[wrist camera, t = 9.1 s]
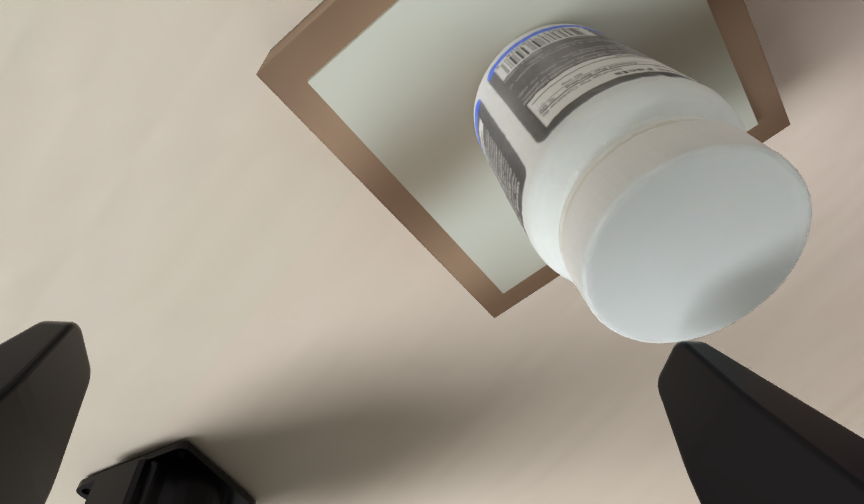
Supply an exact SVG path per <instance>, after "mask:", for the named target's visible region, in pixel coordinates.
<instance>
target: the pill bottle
mask: <svg viewBox="0 0 864 504" xmlns="http://www.w3.org/2000/svg"><path fill="white" fill-rule="evenodd" d="M474 125H475V131H476V135H477V138H478V141H479V144H480V146H481V149H482V151H483V153H484V155H485V157H486V159H487V161H488V163H489V164H490V166H491V168H492V170H493V172H494V174H495V176H496V177H497V179H498V181H499V183H500V186H501V187H502V189H503V191H504V193H505V195H506V197H507V199H508V201H509V203H510V205H511V206H512V208H513V210H514V212H515V214H516V216H517V218H518V220H519V222H520V224H521V226H522V227H523V229H524V231H525V233H526V235H527V237H528V239H529V241H530V242H531V244H532V246H533V247H534V249H535V250H536V252H537V253H538V254H539V256H540V257H541V258H542V260H543V261H544V262H545V263H546V264H547V265H548V266H549V267H550V268H551V269H553V270H554V271H555V272H557V273H558V274H560V275H561V276H563V277H564V278H566V279H568V280H570V281H572V282H574V284H575V285H576V287H577V289H578V290H579V292H580V294H581V295H582V297H583V298H584V300H585V302H586V304H587V305H588V307H589V308H590V310H591V311H592V312H593V314H594V315H595V316H596V317H597V318H598V319H599V321H600V322H602V323H603V324H604V325H605V326H607V327H608V328H609V329H611V330H612V331H614V332H616V333H618V334H620V335H622V336H624V337H627V338H630V339H633V340H637V341H642V342H649V343H673V342H680V341H686V340H691V339H695V338H698V337H702V336H705V335H708V334H711V333H714V332H716V331H718V330H720V329H723V328H725V327H727V326H729V325H731V324H733V323H734V322H736V321H737V320H739V319H740V318H742V317H743V316H745V315H746V314H748V313H749V312H751V311H752V310H754V309H755V308H756V307H758V306H759V305H760V304H761V303H762V302H764V301H765V300H766V299H767V298H768V297H769V296H770V295H772V294H773V293H774V292H775V291H776V289H777V288H778V287H779V286H780V285H781V284H782V283H783V282H784V280H785V279H786V278H787V276H788V275H789V273H790V272H791V270H792V269H793V267H794V266H795V264H796V262H797V261H798V259H799V257H800V255H801V253H802V251H803V248H804V245H805V243H806V240H807V237H808V233H809V229H810V224H811V216H812V208H811V198H810V194H809V191H808V188H807V186H806V183H805V181H804V180H803V178H802V176H801V175H800V173H799V172H798V170H797V169H796V168H795V167H794V166H793V165H792V164H791V163H790V162H789V161H788V160H787V159H786V158H784V157H783V156H782V155H780V154H779V153H777V152H776V151H774V150H772V149H771V148H769V147H768V146H766V145H765V144H763V143H761V142H760V141H758V140H757V139H755V138H754V137H752V136H751V135H750V134H748V133H747V131H746V129H745V126H744V124H743V123H742V121H741V119H740V117H739V116H738V114H737V113H736V111H735V110H734V109H733V107H732V106H731V105H730V104H729V103H728V102H727V101H726V100H725V99H724V98H723V97H721V96H720V95H719V94H718V93H716V92H715V91H714V90H712V89H711V88H709V87H708V86H706V85H703V84H701V83H699V82H697V81H696V80H694V79H692V78H690V77H688V76H686V75H684V74H682V73H680V72H678V71H676V70H674V69H672V68H670V67H668V66H666V65H664V64H662V63H660V62H658V61H656V60H655V59H652V58H650V57H648V56H646V55H644V54H643V53H640V52H639V51H636V50H634V49H632V48H630V47H628V46H625V45H624V44H622V43H620V42H618V41H616V40H614V39H611V38H609V37H608V36H606V35H605V34H603V33H600V32H598V31H595V30H593V29H591V28H588V27H585V26H581V25H575V24H551V25H546V26H542V27H539V28H536V29H534V30H531V31H529V32H527V33H525V34H523V35H521V36H520V37H518V38H516V39H515V40H513V41H512V42H511V43H509V44H508V45H507V46H506V47H505V48H504V49H503V50H502V51H501V52H500V53H499V54H498V56H497V57H496V58H495V59H494V60H493V62H492V63H491V64H490V66H489V68H488V69H487V71H486V73H485V74H484V76H483V79H482V81H481V83H480V85H479V88H478V91H477V95H476V99H475V104H474Z"/></svg>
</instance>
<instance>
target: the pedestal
mask: <svg viewBox="0 0 864 504" xmlns="http://www.w3.org/2000/svg"><path fill="white" fill-rule="evenodd" d="M551 24H575V25H581V26H585V27H588V28H591V29H593V30H595V31H598V32H600V33H603V34H605V35H606V36H608V37H609V38H611V39H614V40H616V41H618V42H620V43H622V44H624V45H625V46H628V47H630V48H632V49H634V50H636V51H639V52H640V53H643V54H644V55H646V56H648V57H650V58H652V59H655V60H656V61H658V62H660V63H662V64H664V65H666V66H668V67H670V68H672V69H674V70H676V71H678V72H680V73H682V74H684V75H686V76H688V77H690V78H692V79H694V80H696V81H697V82H699V83H701V84H703V85H706V86H708V87H709V88H711V89H712V90H714V91H715V92H716V93H718V94H719V95H720V96H721V97H723V98H724V99H725V100H726V101H727V102H728V103H729V104H730V105H731V106H732V107H733V109H734V110H735V111H736V113H737V114H738V116H739V117H740V119H741V121H742V123H743V124H744V126H745V129H746V131H747V133H748V134H750V135H751V136H752V137H754V138H755V139H757V140H758V141H760V142H761V143H763V142H764V141H766V140H768V139H769V138H771V137H772V136H774V135H775V134H777V133H778V132H780V131H781V130H783V129H784V128H786V127H787V126H789V125H790V122H789V120H788V117H787V114H786V112H785V109H784V106H783V104H782V101H781V98H780V96H779V93H778V90H777V88H776V85H775V83H774V80H773V77H772V75H771V72H770V69H769V67H768V64H767V61H766V59H765V56H764V53H763V51H762V48H761V45H760V43H759V40H758V38H757V35H756V32H755V30H754V27H753V24H752V22H751V19H750V16H749V14H748V11H747V8H746V6H745V3H744V1H743V0H324V1H323V2H322V3H320V4H319V5H318V6H317V7H316V8H315V9H314V10H313V11H312V12H311V13H310V14H309V15H308V16H307V17H305V18H304V19H303V20H302V21H301V22H300V23H299V24H298V25H297V26H296V27H295V28H294V29H293V30H291V31H290V32H289V33H288V34H287V35H286V36H285V37H284V38H283V39H282V40H281V41H280V42H279V43H278V44H276V45H275V46H274V47H273V48H272V49H271V50H270V52H269V54H268V55H267V57H266V59H265V60H264V62H263V64H262V66H261V67H260V69H259V71H258V72H257V74H256V75H257V76H258V77H259V78H260V79H261V80H262V81H263V82H264V83H265V84H266V85H267V86H268V87H269V88H270V89H271V90H272V91H273V92H274V93H275V94H276V95H277V96H278V97H279V98H280V99H281V100H282V101H283V103H284V104H285V105H286V106H287V107H288V108H289V109H290V110H291V111H292V112H293V113H294V114H295V115H296V116H297V117H298V118H299V119H300V120H301V121H302V122H303V123H304V124H305V125H306V126H307V127H308V128H309V129H310V130H311V131H312V132H313V133H314V134H315V135H316V136H317V137H318V138H319V139H320V140H321V141H322V142H323V143H324V144H325V145H326V146H327V147H328V149H329V150H330V151H331V152H332V153H333V154H334V155H335V156H336V157H337V158H338V159H339V160H340V161H341V162H342V163H343V164H344V165H345V166H346V167H347V168H348V169H349V170H350V171H351V172H352V173H353V174H354V175H355V176H356V177H357V178H358V179H359V180H360V181H361V182H362V183H363V184H364V185H365V186H366V187H367V188H368V189H369V190H370V191H371V192H372V194H373V195H374V196H375V197H376V198H377V199H378V200H379V201H380V202H381V203H382V204H383V205H384V206H385V207H386V208H387V209H388V210H389V211H390V212H391V213H392V214H393V215H394V216H395V217H396V218H397V219H398V220H399V221H400V222H401V223H402V224H403V225H404V226H405V227H406V228H407V229H408V230H409V231H410V232H411V233H412V234H413V235H414V236H415V237H416V238H417V240H418V241H419V242H420V243H421V244H422V245H423V246H424V247H425V248H426V249H427V250H428V251H429V252H430V253H431V254H432V255H433V256H434V257H435V258H436V259H437V260H438V261H439V262H440V263H441V264H442V265H443V266H444V267H445V268H446V269H447V270H448V271H449V272H450V273H451V274H452V275H453V276H454V277H455V278H456V279H457V280H458V281H459V282H460V283H461V284H462V286H463V287H464V288H465V289H466V290H467V291H468V292H469V293H470V294H471V295H472V296H473V297H474V298H475V299H476V300H477V301H478V302H479V303H480V304H481V305H482V306H483V307H484V308H485V309H486V310H487V311H488V312H489V313H490V314H491V315H492V316H493V317H494V318H495V317H497V316H498V315H500V314H502V313H503V312H505V311H506V310H508V309H509V308H511V307H512V306H514V305H515V304H517V303H518V302H520V301H521V300H523V299H524V298H526V297H527V296H529V295H531V294H532V293H534V292H535V291H537V290H538V289H540V288H541V287H543V286H544V285H546V284H547V283H549V282H550V281H552V280H553V279H555V278H557V277H558V276H560V274H558V273H557V272H555V271H554V270H553V269H551V268H550V267H549V266H548V265H547V264H546V263H545V262H544V261H543V260H542V258H541V257H540V256H539V254H538V253H537V252H536V250H535V249H534V247H533V246H532V244H531V242H530V241H529V239H528V237H527V235H526V233H525V231H524V229H523V227H522V226H521V224H520V222H519V220H518V218H517V216H516V214H515V212H514V210H513V208H512V206H511V205H510V203H509V201H508V199H507V197H506V195H505V193H504V191H503V189H502V187H501V186H500V183H499V181H498V179H497V177H496V176H495V174H494V172H493V170H492V168H491V166H490V164H489V163H488V161H487V159H486V157H485V155H484V153H483V151H482V149H481V146H480V144H479V141H478V138H477V135H476V131H475V125H474V104H475V99H476V95H477V91H478V88H479V85H480V83H481V81H482V79H483V76H484V74H485V73H486V71H487V69H488V68H489V66H490V64H491V63H492V62H493V60H494V59H495V58H496V57H497V56H498V54H499V53H500V52H501V51H502V50H503V49H504V48H505V47H506V46H507V45H508V44H509V43H511V42H512V41H513V40H515V39H516V38H518V37H520V36H521V35H523V34H525V33H527V32H529V31H531V30H534V29H536V28H539V27H542V26H546V25H551Z"/></svg>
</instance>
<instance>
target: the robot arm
mask: <svg viewBox="0 0 864 504" xmlns="http://www.w3.org/2000/svg"><path fill="white" fill-rule="evenodd" d="M89 380H90V364H89V360H88V356H87V352H86V348H85V343H84V339H83V335H82V331H81V329H80V327H79V326H78V325H77V324H76V323H74V322H60V321H44V322H40V323H38V324H36V325H34V326H32V327H30V328H29V329H27V330H25V331H23V332H21V333H20V334H18V335H16V336H14V337H13V338H11V339H9V340H7V341H5V342H4V343H2V344H0V504H45V502H46V500H47V498H48V496H49V494H50V491H51V489H52V486H53V484H54V481H55V479H56V476H57V473H58V471H59V468H60V465H61V462H62V459H63V456H64V453H65V450H66V448H67V445H68V442H69V439H70V436H71V433H72V430H73V427H74V425H75V422H76V419H77V416H78V413H79V410H80V407H81V404H82V402H83V399H84V396H85V393H86V390H87V387H88V384H89ZM658 389H659V393H660V396H661V399H662V402H663V405H664V408H665V411H666V413H667V416H668V419H669V422H670V425H671V428H672V431H673V434H674V437H675V439H676V442H677V445H678V448H679V451H680V454H681V457H682V460H683V462H684V465H685V468H686V470H687V473H688V476H689V478H690V481H691V483H692V485H693V487H694V490H695V492H696V494H697V496H698V499H699V501H700V503H701V504H864V439H863V438H862V437H860V436H858V435H857V434H855V433H854V432H852V431H850V430H849V429H847V428H845V427H844V426H842V425H840V424H839V423H837V422H835V421H834V420H832V419H830V418H829V417H827V416H825V415H824V414H822V413H820V412H819V411H817V410H815V409H814V408H812V407H810V406H809V405H807V404H805V403H804V402H802V401H801V400H799V399H797V398H796V397H794V396H792V395H791V394H789V393H787V392H786V391H784V390H782V389H781V388H779V387H777V386H776V385H774V384H772V383H771V382H769V381H767V380H766V379H764V378H762V377H761V376H759V375H757V374H756V373H754V372H752V371H751V370H749V369H748V368H746V367H744V366H743V365H741V364H739V363H738V362H736V361H734V360H733V359H731V358H729V357H728V356H726V355H724V354H723V353H721V352H719V351H718V350H716V349H714V348H713V347H711V346H709V345H708V344H706V343H703V342H691V341H682V342H679V343H677V344H676V345H675V346H674V348H673V349H672V351H671V353H670V356H669V358H668V360H667V362H666V364H665V366H664V368H663V370H662V372H661V374H660V376H659V380H658ZM76 491H77V493H78V494H79V495H80V496H81V497H83V498H84V499H86V502H85V504H256V501H255V500H254V499H253V498H252V497H251V496H250V495H249V494H248V493H246V492H245V491H244V490H243V489H242V488H241V487H240V486H238V485H237V484H236V483H235V482H234V481H233V480H232V479H231V478H229V477H228V476H227V475H226V474H225V473H224V472H223V471H222V470H220V469H219V468H218V467H217V466H216V465H215V464H214V463H213V462H211V461H210V460H209V459H208V458H207V457H206V456H205V455H204V454H202V453H201V452H200V451H199V450H198V449H197V448H196V447H195V446H193V445H192V444H191V443H189V442H185V441H180V442H176V443H174V444H171V445H169V446H166V447H164V448H161V449H159V450H156V451H154V452H151V453H149V454H146V455H144V456H141V457H138V458H136V459H133V460H131V461H128V462H126V463H123V464H121V465H118V466H116V467H113V468H111V469H108V470H106V471H103V472H101V473H98V474H96V475H93V476H91V477H88V478H86V479H83V480H82V481H81V482H80V484H79V486H78V488H77V490H76Z"/></svg>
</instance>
